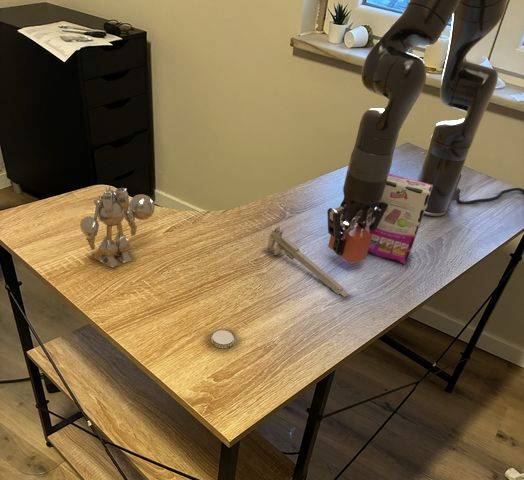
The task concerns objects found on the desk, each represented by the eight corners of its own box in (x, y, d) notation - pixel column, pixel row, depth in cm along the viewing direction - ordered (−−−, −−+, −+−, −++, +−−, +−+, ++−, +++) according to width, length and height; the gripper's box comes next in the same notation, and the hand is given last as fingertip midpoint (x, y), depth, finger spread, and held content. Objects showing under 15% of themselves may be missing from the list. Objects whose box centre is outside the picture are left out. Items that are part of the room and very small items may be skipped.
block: (344, 242, 112) (350, 218, 108) (365, 259, 108) (372, 235, 104) (328, 246, 110) (333, 222, 106) (348, 264, 106) (355, 239, 102)
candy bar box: (409, 254, 117) (434, 184, 106) (405, 265, 113) (431, 193, 102) (361, 239, 119) (380, 169, 108) (355, 249, 115) (375, 178, 104)
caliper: (266, 251, 111) (270, 224, 106) (270, 249, 111) (274, 223, 107) (344, 298, 101) (351, 271, 97) (347, 296, 102) (355, 269, 98)
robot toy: (144, 237, 109) (142, 167, 99) (162, 251, 106) (161, 180, 96) (79, 259, 101) (69, 185, 90) (96, 275, 98) (88, 200, 88)
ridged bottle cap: (205, 338, 88) (206, 335, 88) (223, 329, 90) (224, 326, 90) (221, 351, 86) (221, 348, 86) (239, 341, 89) (239, 338, 88)
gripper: (351, 185, 92) (330, 268, 103) (409, 175, 99) (384, 253, 110) (325, 167, 96) (308, 248, 108) (383, 158, 103) (361, 235, 114)
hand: (347, 250), depth 109 cm, fingers closed on block, 4 cm apart
